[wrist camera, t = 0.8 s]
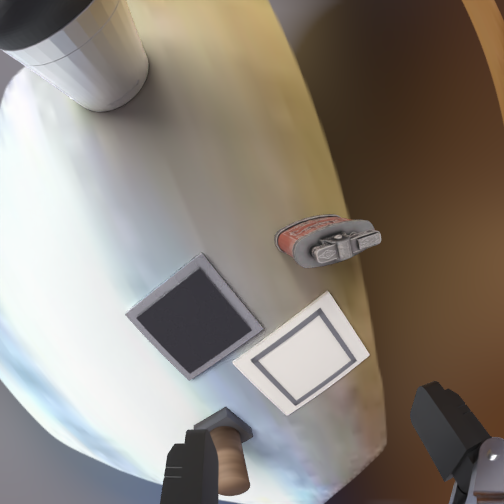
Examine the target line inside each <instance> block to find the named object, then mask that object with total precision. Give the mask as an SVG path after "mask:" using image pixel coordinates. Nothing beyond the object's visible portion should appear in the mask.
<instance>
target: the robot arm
mask: <svg viewBox="0 0 504 504" xmlns="http://www.w3.org/2000/svg"><path fill="white" fill-rule="evenodd" d="M0 49H1V50H2V51H4V52H5V53H7V54H8V55H10V56H11V57H13V58H14V59H16V60H17V61H19V62H20V63H22V64H23V65H25V66H26V67H27V68H29V69H30V70H32V71H33V72H35V73H36V74H38V75H39V76H40V77H42V78H43V79H45V80H46V81H47V82H49V83H50V84H52V85H53V86H55V87H56V88H57V89H59V90H60V91H62V92H63V93H64V94H66V95H67V96H69V97H70V98H71V99H73V100H74V101H75V102H77V103H78V104H80V105H81V106H82V107H84V108H86V109H88V110H91V111H96V112H104V111H109V110H113V109H116V108H118V107H120V106H122V105H124V104H125V103H127V102H129V101H130V100H131V99H132V98H133V97H134V96H135V95H136V94H137V93H138V92H139V91H140V89H141V88H142V86H143V84H144V83H145V81H146V78H147V75H148V68H149V64H148V58H147V55H146V53H145V50H144V48H143V45H142V42H141V39H140V37H139V34H138V31H137V29H136V26H135V23H134V21H133V18H132V15H131V13H130V10H129V7H128V5H127V2H126V0H0ZM410 417H411V422H412V424H413V426H414V428H415V430H416V431H417V433H418V435H419V437H420V438H421V440H422V442H423V443H424V445H425V447H426V449H427V451H428V452H429V454H430V456H431V457H432V460H433V461H434V463H435V465H436V467H437V468H438V470H439V472H440V474H441V476H442V478H443V480H444V481H447V480H449V479H451V478H453V477H454V479H455V480H456V482H455V484H454V487H453V491H452V495H451V499H450V502H449V504H504V440H503V439H502V438H498V437H493V438H492V437H491V436H490V435H489V434H488V433H487V431H486V430H485V429H484V427H483V426H482V425H481V423H480V422H479V421H478V419H477V418H476V417H475V415H474V414H473V413H472V412H470V409H469V408H468V406H467V405H465V402H464V401H463V400H462V399H461V397H460V396H459V395H458V394H456V393H455V392H453V391H451V390H450V389H447V390H444V389H443V387H442V386H441V385H440V384H439V383H438V382H437V381H433V382H431V383H428V384H426V385H423V386H420V387H419V388H418V389H417V392H416V395H415V399H414V402H413V405H412V409H411V414H410ZM164 476H165V478H164V480H163V487H162V494H161V501H160V504H218V478H219V461H218V454H217V450H216V448H215V445H214V443H213V440H212V438H211V435H210V433H209V430H208V429H197V430H187V432H186V437H185V444H174V446H173V447H172V449H171V450H170V452H169V453H168V455H167V461H166V469H165V474H164Z"/></svg>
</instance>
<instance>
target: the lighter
mask: <svg viewBox="0 0 504 504" xmlns="http://www.w3.org/2000/svg"><path fill="white" fill-rule="evenodd" d="M274 241H275V245H276V247H277V248H278V249H279V250H280V251H281V252H283V253H287V254H288V255H290V256H291V257H293V258H294V260H295V261H296V262H297V263H298V264H299V265H300V266H302V267H304V268H313V267H320V266H326V265H330V264H334V263H338V262H341V261H344V260H346V259H349V258H351V257H353V256H355V255H357V254H359V253H360V252H362V251H364V250H365V249H367V248H369V247H372V246H375V245H377V244H379V243H380V242H381V235H380V232H379V231H376V230H374V227H373V225H372V224H371V223H370V222H369V221H366V220H350V219H345V218H341V217H340V216H338V215H333V214H328V215H317V216H313V217H308V218H304V219H301V220H299V221H296V222H293V223H291V224H289V225H287V226H285V227H283V228H281V229H280V230H278V231H277V233H276V234H275V238H274Z"/></svg>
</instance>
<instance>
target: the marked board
mask: <svg viewBox="0 0 504 504" xmlns="http://www.w3.org/2000/svg"><path fill="white" fill-rule="evenodd" d="M369 355H370V354H369V353H368V351H367V350H366V348H365V347H364V345H363V343H362V342H361V340H360V339H359V337H358V336H357V334H356V332H355V331H354V329H353V328H352V326H351V325H350V323H349V322H348V320H347V319H346V317H345V316H344V314H343V312H342V311H341V309H340V308H339V306H338V305H337V303H336V302H335V300H334V299H333V297H332V296H331V294H330V293H329V292H328V291H326V292H325V293H323V294H322V295H321V296H320V297H318V298H317V299H316V300H315V301H313V302H312V303H311V304H309V305H308V306H307V307H306V308H304V309H303V310H302V311H300V312H299V313H298V314H297V315H295V316H294V317H293V318H291V319H290V320H289V321H287V322H286V323H285V324H283V325H282V326H281V327H279V328H278V329H277V330H275V331H274V332H273V333H271V334H270V335H269V336H267V337H266V338H264V339H263V340H262V341H260V342H259V343H257V344H256V345H255V346H253V347H252V348H250V349H249V350H248V351H246V352H245V353H243V354H242V355H241V356H239V357H238V358H236V359H235V360H233V361H232V362H233V364H234V365H235V366H236V367H237V368H238V369H239V370H240V371H241V372H242V373H243V374H244V375H245V376H246V377H247V378H248V379H249V380H250V381H251V382H252V383H253V384H254V385H255V386H256V387H257V388H258V389H259V390H260V391H261V392H262V393H263V394H264V395H265V396H266V397H267V398H268V399H269V400H270V401H271V402H272V403H274V404H275V405H276V406H277V407H278V408H279V409H280V410H281V411H282V412H283V413H284V414H285V415H287V416H288V415H289V414H291V413H292V412H294V411H295V410H297V409H298V408H300V407H301V406H303V405H304V404H306V403H307V402H309V401H310V400H312V399H313V398H314V397H316V396H317V395H319V394H320V393H321V392H323V391H324V390H326V389H327V388H328V387H330V386H331V385H332V384H334V383H335V382H336V381H338V380H339V379H340V378H342V377H343V376H344V375H346V374H347V373H348V372H349V371H351V370H352V369H353V368H355V367H356V366H357V365H358V364H360V363H361V362H362V361H363V360H364V359H366V358H367V357H368V356H369Z"/></svg>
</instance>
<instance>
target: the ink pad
mask: <svg viewBox="0 0 504 504" xmlns="http://www.w3.org/2000/svg"><path fill="white" fill-rule="evenodd" d="M125 315H126V316H127V317H128V318H129V319H130V321H131V322H132V323H133V324H134V325H135V326H136V327H137V328H138V329H139V330H140V332H141V333H142V334H143V335H144V336H145V337H146V338H147V339H148V340H149V341H150V342H151V343H152V344H153V345H154V346H155V347H156V348H157V349H158V350H159V352H160V353H161V354H162V355H163V356H164V357H165V358H166V359H167V360H168V361H169V362H170V363H171V364H173V365H174V366H175V367H176V368H177V369H178V370H179V371H180V372H181V373H182V374H183V375H184V376H185V377H186V378H187V379H188V380H189V381H190V380H191V379H193V378H194V377H196V376H197V375H199V374H200V373H202V372H203V371H205V370H206V369H208V368H209V367H210V366H212V365H213V364H215V363H216V362H218V361H219V360H221V359H222V358H224V357H225V356H226V355H228V354H229V353H231V352H232V351H234V350H235V349H236V348H238V347H239V346H241V345H242V344H243V343H245V342H246V341H248V340H249V339H250V338H252V337H253V336H255V335H256V334H257V333H259V332H260V331H261V330H263V327H262V325H261V324H260V323H259V322H258V321H257V320H256V318H255V317H254V316H253V315H252V314H251V312H250V311H249V310H248V309H247V308H246V306H245V305H244V304H243V303H242V302H241V300H240V299H239V298H238V297H237V295H236V294H235V293H234V292H233V291H232V289H231V288H230V287H229V286H228V284H227V283H226V282H225V281H224V280H223V278H222V277H221V276H220V275H219V273H218V272H217V271H216V270H215V268H214V267H213V266H212V265H211V263H210V262H209V261H208V260H207V258H206V257H205V256H204V255H203V253H202V252H201V253H200V254H198V255H197V256H196V257H194V258H193V259H192V260H191V261H189V262H188V263H187V264H186V265H184V266H183V267H182V268H180V269H179V270H178V271H177V272H175V273H174V274H173V275H172V276H170V277H169V278H168V279H167V280H165V281H164V282H163V283H161V284H160V285H159V286H158V287H156V288H155V289H154V290H153V291H151V292H150V293H149V294H148V295H147V296H145V297H144V298H143V299H142V300H140V301H139V302H138V303H137V304H135V305H134V306H133V307H132V308H130V309H129V310H128V311H127V312H126V313H125Z"/></svg>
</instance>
